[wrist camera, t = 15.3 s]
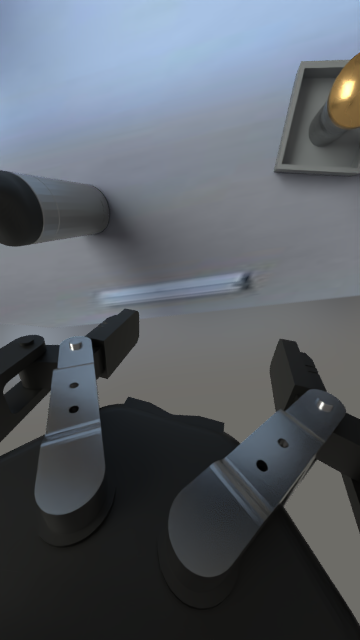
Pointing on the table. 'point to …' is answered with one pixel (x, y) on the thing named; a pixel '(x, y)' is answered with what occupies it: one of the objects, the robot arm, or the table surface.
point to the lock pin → (339, 107)
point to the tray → (306, 100)
